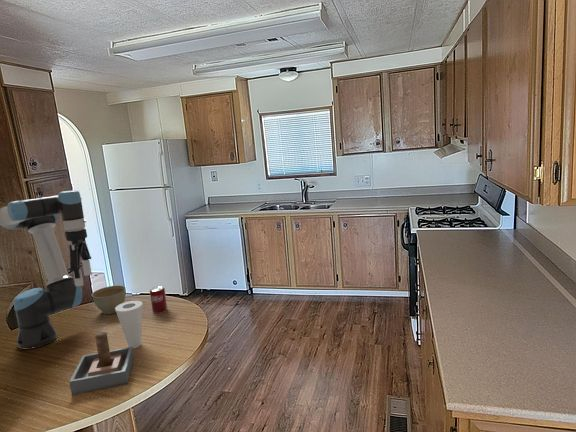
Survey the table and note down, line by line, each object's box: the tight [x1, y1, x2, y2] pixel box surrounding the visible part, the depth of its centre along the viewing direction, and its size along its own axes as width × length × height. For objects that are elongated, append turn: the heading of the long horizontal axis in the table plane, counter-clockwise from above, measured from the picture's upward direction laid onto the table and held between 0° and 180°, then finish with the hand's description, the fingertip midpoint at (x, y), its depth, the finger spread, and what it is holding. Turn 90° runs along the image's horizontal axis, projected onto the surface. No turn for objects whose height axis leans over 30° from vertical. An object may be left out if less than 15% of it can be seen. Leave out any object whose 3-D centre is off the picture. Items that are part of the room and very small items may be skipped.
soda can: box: [149, 286, 168, 315], centre depth 200 cm, size 7×7×12 cm
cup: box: [115, 300, 143, 349], centre depth 165 cm, size 11×11×18 cm
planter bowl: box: [91, 285, 127, 315], centre depth 205 cm, size 16×16×11 cm
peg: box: [94, 331, 112, 368], centre depth 147 cm, size 4×4×14 cm
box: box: [69, 346, 135, 395], centre depth 145 cm, size 18×18×5 cm
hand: (84, 280), depth 160 cm, fingers open, 13 cm apart
